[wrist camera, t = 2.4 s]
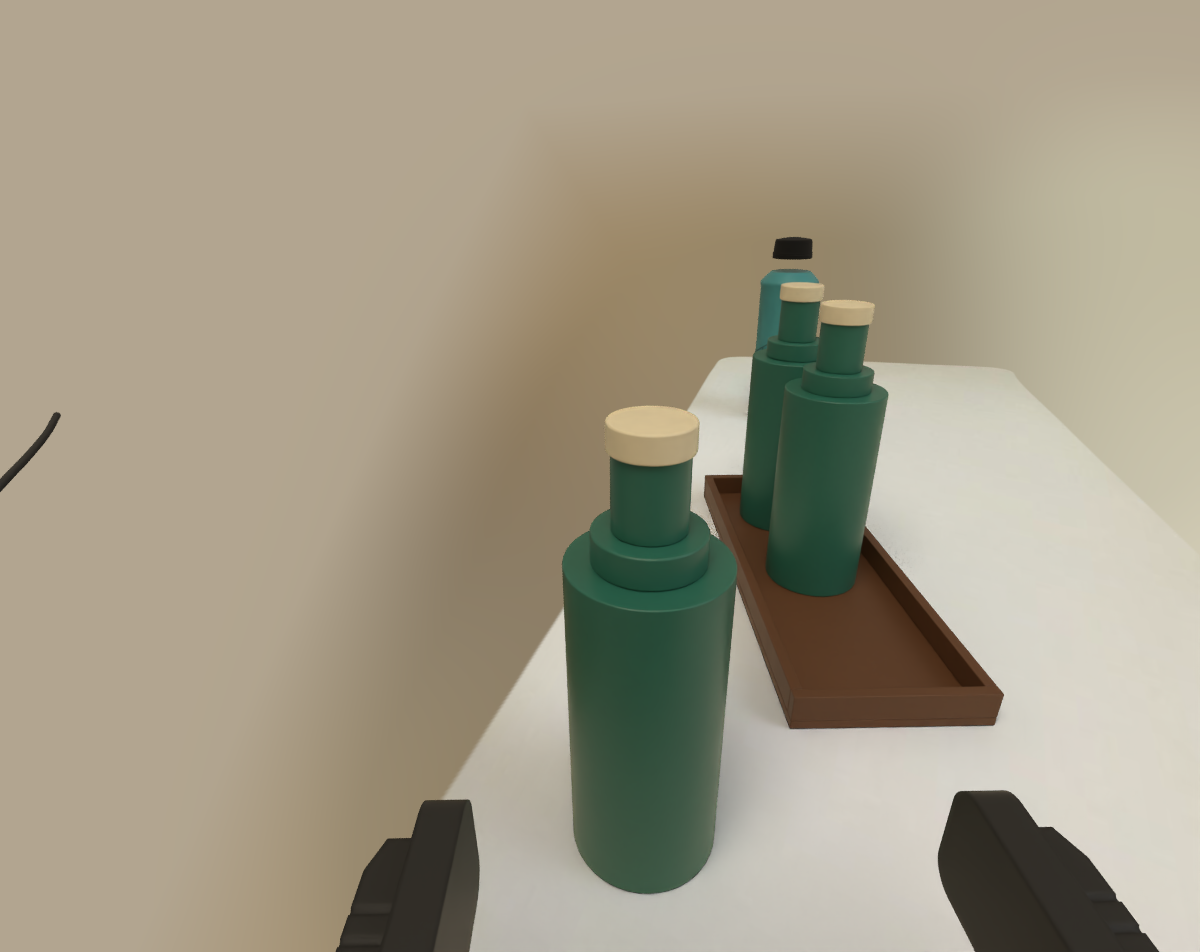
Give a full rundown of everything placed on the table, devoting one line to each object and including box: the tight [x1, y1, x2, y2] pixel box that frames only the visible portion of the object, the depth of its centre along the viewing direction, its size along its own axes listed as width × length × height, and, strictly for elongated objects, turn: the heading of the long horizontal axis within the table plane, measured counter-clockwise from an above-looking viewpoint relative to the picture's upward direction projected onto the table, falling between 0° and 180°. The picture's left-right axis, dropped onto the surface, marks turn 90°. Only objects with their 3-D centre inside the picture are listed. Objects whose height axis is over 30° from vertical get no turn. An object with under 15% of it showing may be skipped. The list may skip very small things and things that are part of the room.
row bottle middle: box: [765, 300, 888, 597], centre depth 40 cm, size 6×6×18 cm
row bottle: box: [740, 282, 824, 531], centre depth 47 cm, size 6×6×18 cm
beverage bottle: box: [755, 237, 819, 352], centre depth 72 cm, size 6×7×20 cm
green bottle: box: [562, 406, 737, 894], centre depth 23 cm, size 6×6×18 cm
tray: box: [704, 475, 1004, 728], centre depth 43 cm, size 27×10×2 cm, turn 1°
